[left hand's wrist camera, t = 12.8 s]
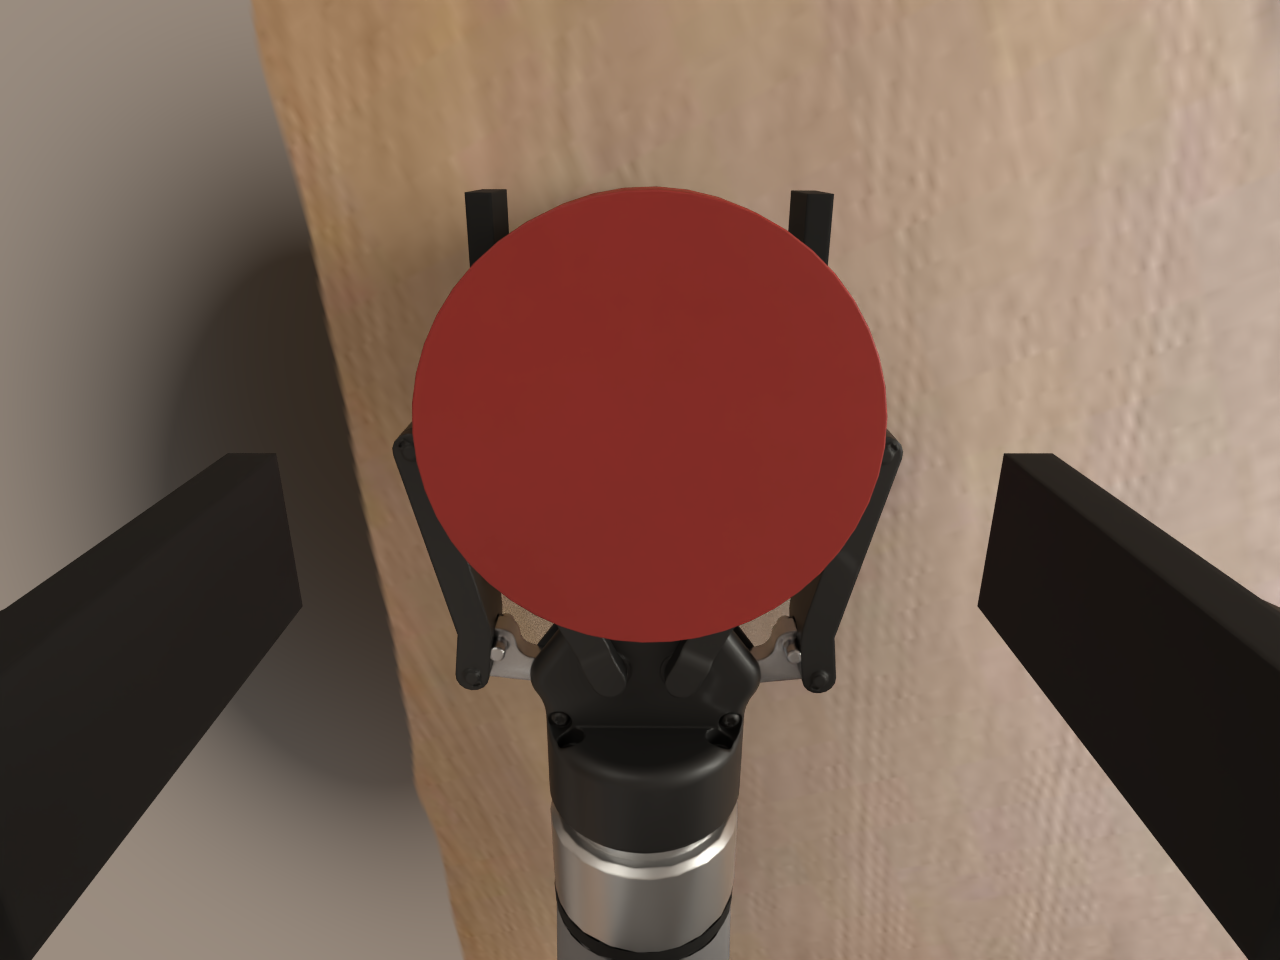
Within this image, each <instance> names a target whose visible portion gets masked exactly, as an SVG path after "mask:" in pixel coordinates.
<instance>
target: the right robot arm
mask: <svg viewBox="0 0 1280 960" xmlns="http://www.w3.org/2000/svg"><path fill="white" fill-rule="evenodd" d="M833 199H834V194H831V193H825V192H820V191H791V201H790V215H789V230H788V232H790V233H791V234H792V235H793V236H795V237H796V238H797V239H799V240H800V241H801V242H802V243H804V244H805V245H806V246H808V247H809V248H810V249H811V250H813V251H814V252H815V253H816V254H817V255H818V256H819V257H820V259H821V260H822V261H823V262H824V263H825V264H826V265H827V266H828V256H829V245H830V234H831V222H832V211H833ZM465 204H466V218H467V232H468V246H469V260H470V267H471V266H472V265H473V264H474V263H475V262H476V261H477V260H478V259H479V258H480V257H481V256H482V255H483V254H485V253H486V252H487V251H488V250H489V249H490V248H491V247H492V246H493V245H494V244H496V243H497V242H498V241H499V240H501V239H502V238H504V237H505V236H506V235H508V234H509V226H508V208H507V189H481V190H476V191H470V192H465ZM392 449H393V456H394V458H395V461H396V464H397V467H398V470H399V472H400V475H401V478H402V481H403V484H404V486H405V489H406V492H407V495H408V497H409V500H410V503H411V506H412V509H413V511H414V514H415V517H416V520H417V523H418V525H419V528H420V531H421V534H422V537H423V539H424V542H425V545H426V548H427V551H428V553H429V556H430V559H431V562H432V564H433V567H434V570H435V573H436V576H437V578H438V581H439V584H440V587H441V590H442V592H443V595H444V598H445V601H446V604H447V606H448V609H449V612H450V615H451V617H452V620H453V623H454V626H455V629H456V631H457V634H458V638H457V657H456V679H457V681H458V683H459V684H460V685H461V686H463V687H464V688H466V689H470V690H478V689H481V688H483V687H484V686H485V685H486V684H487V683H488V680H489V677H490V676H496V677H505V678H514V679H523V680H531V682H532V685H533V687H534V689H535V690H536V692H537V693H538V694H539V696H540V697H541V699H542V701H543V703H544V705H545V709H546V717H547V738H548V759H549V780H550V793H551V797H552V804H551V824H552V839H553V855H554V870H555V891H556V900H557V960H729V949H730V904H731V898H732V886H733V880H734V871H735V855H736V838H737V822H738V802H737V799H738V795H739V786H740V770H741V754H742V738H743V722H744V712H745V708H746V705H747V703H748V701H749V700H750V698H751V697H752V695H753V694H754V693H755V691H756V690H757V688H758V686H759V683H761V682H771V681H782V680H792V679H802V682H803V685H804V687H805V688H806V689H807V690H808V691H811V692H813V693H822V692H826V691H827V690H829V689H830V688H832V686H833V685H834V684H835V680H836V666H835V639H834V638H835V635H836V632H837V630H838V627H839V624H840V622H841V619H842V616H843V614H844V611H845V608H846V606H847V603H848V600H849V598H850V595H851V592H852V590H853V587H854V585H855V582H856V579H857V577H858V574H859V571H860V569H861V566H862V563H863V561H864V558H865V555H866V553H867V550H868V547H869V545H870V542H871V539H872V537H873V534H874V531H875V529H876V526H877V523H878V521H879V518H880V515H881V513H882V510H883V507H884V505H885V502H886V499H887V497H888V494H889V492H890V489H891V486H892V484H893V481H894V478H895V476H896V473H897V470H898V468H899V465H900V462H901V460H902V455H903V450H902V446H901V444H900V443H899V442H898V441H897V440H896V438H895V437H894V436H893V435H892V434H891V433H890V432H889V431H888V430H887V428H886V440H885V449H884V454H883V458H882V463H881V467H880V472H879V476H878V479H877V482H876V484H875V487H874V490H873V493H872V495H871V498H870V501H869V503H868V505H867V507H866V509H865V511H864V513H863V515H862V517H861V519H860V521H859V523H858V525H857V527H856V529H855V530H854V531H853V533H852V534H851V536H850V537H849V539H848V540H847V542H846V543H845V544H844V546H843V547H842V549H841V550H840V552H839V553H838V554H837V555H836V556H835V557H834V558H833V560H832V561H831V562H830V563H829V564H828V565H827V566H826V567H825V569H824V570H823V571H822V572H821V573H820V574H819V575H818V576H817V577H815V578H814V579H813V580H812V581H811V582H810V583H809V584H807V585H806V586H805V587H804V588H803V589H802V590H801V591H799V592H798V593H797V594H795V595H794V596H792V597H791V600H790V607H789V616H781V617H780V618H779V619H778V620H777V623H776V624H775V625H774V627H773V628H772V632H771V636H770V638H769V640H768V641H767V642H766V643H764V644H762V645H760V646H756V647H754V646H753V644H752V643H751V641H750V640H749V639H748V638H747V636H746V635H745V634H744V632H743V631H742V630H741V629H740V627H739V626H736V627H733V628H731V629H728V630H726V631H722V632H718V633H714V634H711V635H707V636H703V637H699V638H693V639H686V640H679V641H672V642H644V643H642V642H630V641H618V640H611V639H606V638H601V637H596V636H591V635H586V634H583V633H580V632H577V631H574V630H570V629H567V628H564V627H561V626H559V625H556V624H553V625H552V626H551V628H550V629H549V630H548V631H547V633H546V634H545V635H544V636H543V638H542V639H541V640H540V641H539V643H538V644H537V645H536V644H531V643H529V642H527V641H526V640H525V639H524V638H523V637H522V635H521V632H520V628H519V625H518V624H517V622H516V621H515V619H514V617H513V616H512V615H511V614H508V613H506V614H502V598H501V592H499V591H498V590H497V589H496V588H494V587H493V586H492V585H490V584H489V583H488V582H487V581H486V580H485V579H484V578H483V577H482V576H481V575H480V574H479V573H478V572H477V571H476V570H475V569H474V568H473V567H472V566H471V565H470V564H469V563H468V562H467V561H466V559H465V558H464V557H463V556H462V554H461V553H460V552H459V550H458V549H457V548H456V547H455V545H454V544H453V543H452V542H451V540H450V538H449V537H448V535H447V533H446V532H445V530H444V528H443V527H442V525H441V523H440V522H439V520H438V519H437V517H436V515H435V512H434V510H433V508H432V505H431V503H430V501H429V499H428V496H427V494H426V492H425V489H424V486H423V482H422V479H421V475H420V472H419V468H418V465H417V461H416V454H415V447H414V440H413V434H412V422H411V423H410V424H409V426H408V427H407V428H406V429H405V430H404V431H403V432H402V433H401V435H400V436H399V437H398V438H397V439H396V441H395V442H394V445H393V448H392Z"/></svg>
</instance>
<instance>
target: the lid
mask: <svg viewBox="0 0 1280 960" xmlns="http://www.w3.org/2000/svg"><path fill="white" fill-rule="evenodd" d="M886 427H887V404H886V388H885V382H884V377H883V373H882V368H881V363H880V358H879V355H878V352H877V349H876V346H875V343H874V341H873V338H872V335H871V332H870V329H869V327H868V325H867V323H866V321H865V319H864V318H863V316H862V314H861V312H860V310H859V308H858V306H857V304H856V302H855V300H854V299H853V298H852V296H851V295H850V293H849V292H848V291H847V289H846V288H845V286H844V285H843V284H842V282H841V281H840V280H839V278H838V277H837V275H836V274H835V273H834V272H833V271H832V270H831V269H830V268H829V267H828V266H827V265H826V264H825V263H824V262H823V261H822V260H821V259H820V257H819V256H818V255H817V254H816V253H815V252H814V251H813V250H811V249H810V248H809V247H808V246H806V245H805V244H804V243H802V242H801V241H800V240H799V239H797V238H796V237H795V236H793V235H792V234H791V233H790V232H788V231H787V230H786V229H784V228H782V227H780V226H779V225H777V224H775V223H773V222H772V221H770V220H768V219H766V218H764V217H763V216H761V215H759V214H757V213H755V212H753V211H751V210H749V209H747V208H744V207H742V206H739V205H737V204H734V203H732V202H729V201H727V200H724V199H722V198H719V197H716V196H712V195H708V194H704V193H699V192H695V191H691V190H686V189H676V188H666V187H632V188H621V189H615V190H610V191H604V192H599V193H594V194H590V195H587V196H584V197H581V198H578V199H575V200H572V201H569V202H566V203H563V204H561V205H559V206H557V207H555V208H553V209H551V210H549V211H547V212H545V213H543V214H541V215H539V216H537V217H535V218H533V219H531V220H529V221H527V222H526V223H524V224H523V225H521V226H520V227H518V228H517V229H515V230H514V231H512V232H511V233H509V234H508V235H506V236H505V237H504V238H502V239H501V240H499V241H498V242H497V243H496V244H494V245H493V246H492V247H491V248H490V249H489V250H488V251H487V252H486V253H485V254H483V255H482V256H481V257H480V258H479V259H478V260H477V261H476V262H475V263H474V264H473V265H472V266H471V267H470V269H469V270H468V271H467V272H466V273H465V275H464V276H463V277H462V278H461V279H460V281H459V282H458V283H457V284H456V285H455V287H454V288H453V289H452V291H451V293H450V294H449V296H448V297H447V299H446V301H445V302H444V304H443V306H442V307H441V309H440V311H439V312H438V314H437V315H436V318H435V320H434V322H433V325H432V327H431V329H430V332H429V334H428V336H427V339H426V341H425V343H424V346H423V350H422V354H421V357H420V361H419V364H418V368H417V372H416V377H415V385H414V393H413V401H412V434H413V440H414V447H415V454H416V461H417V465H418V468H419V472H420V475H421V479H422V482H423V486H424V489H425V492H426V494H427V496H428V499H429V501H430V503H431V505H432V508H433V510H434V512H435V515H436V517H437V519H438V520H439V522H440V523H441V525H442V527H443V528H444V530H445V532H446V533H447V535H448V537H449V538H450V540H451V542H452V543H453V544H454V545H455V547H456V548H457V549H458V550H459V552H460V553H461V554H462V556H463V557H464V558H465V559H466V561H467V562H468V563H469V564H470V565H471V566H472V567H473V568H474V569H475V570H476V571H477V572H478V573H479V574H480V575H481V576H482V577H483V578H484V579H485V580H486V581H487V582H488V583H489V584H490V585H492V586H493V587H494V588H496V589H497V590H498V591H499V592H501V593H502V594H503V595H505V596H506V597H507V598H508V599H510V600H511V601H513V602H514V603H516V604H518V605H519V606H521V607H523V608H524V609H526V610H528V611H529V612H531V613H533V614H534V615H536V616H539V617H541V618H543V619H545V620H548V621H550V622H552V623H554V624H556V625H559V626H561V627H564V628H567V629H570V630H574V631H577V632H580V633H583V634H586V635H591V636H596V637H601V638H606V639H611V640H618V641H630V642H642V643H644V642H672V641H679V640H686V639H693V638H699V637H703V636H707V635H711V634H714V633H718V632H722V631H726V630H728V629H731V628H733V627H736V626H739V625H741V624H744V623H746V622H749V621H751V620H753V619H755V618H757V617H759V616H761V615H763V614H765V613H767V612H769V611H771V610H772V609H774V608H776V607H778V606H779V605H781V604H782V603H783V602H785V601H786V600H788V599H789V598H791V597H792V596H794V595H795V594H797V593H798V592H799V591H801V590H802V589H803V588H804V587H805V586H806V585H807V584H809V583H810V582H811V581H812V580H813V579H814V578H815V577H817V576H818V575H819V574H820V573H821V572H822V571H823V570H824V569H825V567H826V566H827V565H828V564H829V563H830V562H831V561H832V560H833V558H834V557H835V556H836V555H837V554H838V553H839V552H840V550H841V549H842V547H843V546H844V544H845V543H846V542H847V540H848V539H849V537H850V536H851V534H852V533H853V531H854V530H855V529H856V527H857V525H858V523H859V521H860V519H861V517H862V515H863V513H864V511H865V509H866V507H867V505H868V503H869V501H870V498H871V495H872V493H873V490H874V487H875V484H876V482H877V479H878V476H879V472H880V467H881V463H882V458H883V454H884V449H885V440H886Z"/></svg>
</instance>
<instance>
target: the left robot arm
mask: <svg viewBox="0 0 1280 960" xmlns="http://www.w3.org/2000/svg"><path fill="white" fill-rule="evenodd" d="M301 607H302V600H301V595H300V589H299V583H298V577H297V572H296V566H295V560H294V554H293V548H292V543H291V537H290V531H289V525H288V520H287V514H286V508H285V502H284V497H283V491H282V485H281V479H280V474H279V468H278V462H277V456H276V454H275V453H271V454H270V453H260V454H258V453H256V454H254V453H253V454H252V453H245V454H244V453H242V454H241V453H240V454H239V453H232V454H230V453H228V454H226V455H225V456H223V457H222V458H220V459H219V460H218V461H216V462H215V463H213V464H212V465H210V466H209V467H208V468H206V469H205V470H203V471H202V472H200V473H199V474H197V475H196V476H195V477H193V478H192V479H190V480H189V481H187V482H186V483H185V484H183V485H182V486H180V487H179V488H177V489H176V490H175V491H173V492H172V493H170V494H169V495H167V496H166V497H164V498H163V499H162V500H160V501H159V502H157V503H156V504H155V505H153V506H152V507H150V508H149V509H147V510H146V511H145V512H143V513H142V514H140V515H139V516H137V517H136V518H134V519H133V520H132V521H130V522H129V523H127V524H126V525H124V526H123V527H122V528H120V529H119V530H117V531H116V532H114V533H113V534H111V535H110V536H109V537H107V538H106V539H104V540H103V541H101V542H100V543H99V544H97V545H96V546H94V547H93V548H91V549H90V550H89V551H87V552H86V553H84V554H83V555H81V556H80V557H79V558H77V559H76V560H74V561H73V562H71V563H70V564H69V565H67V566H66V567H64V568H63V569H61V570H60V571H58V572H57V573H56V574H54V575H53V576H51V577H50V578H48V579H47V580H46V581H44V582H43V583H41V584H40V585H38V586H37V587H36V588H34V589H33V590H31V591H30V592H28V593H27V594H25V595H24V596H23V597H21V598H20V599H18V600H17V601H15V602H14V603H13V604H11V605H10V606H8V607H7V608H5V609H4V610H1V611H0V960H32V958H33V957H34V956H35V954H36V953H37V952H38V951H39V949H40V948H41V947H42V945H43V944H44V943H45V942H46V940H47V939H48V938H49V936H50V935H51V934H52V932H53V931H54V930H55V928H56V927H57V926H58V924H59V923H60V922H61V921H62V919H63V918H64V917H65V915H66V914H67V913H68V911H69V910H70V909H71V908H72V906H73V905H74V904H75V902H76V901H77V900H78V898H79V897H80V896H81V895H82V893H83V892H84V891H85V889H86V888H87V887H88V885H89V884H90V883H91V881H92V880H93V879H94V878H95V876H96V875H97V874H98V872H99V871H100V870H101V868H102V867H103V866H104V865H105V863H106V862H107V861H108V859H109V858H110V857H111V855H112V854H113V853H114V851H115V850H116V849H117V848H118V846H119V845H120V844H121V842H122V841H123V840H124V838H125V837H126V836H127V835H128V833H129V832H130V831H131V829H132V828H133V827H134V825H135V824H136V823H137V821H138V820H139V819H140V817H141V816H142V815H143V814H144V812H145V811H146V810H147V808H148V807H149V806H150V804H151V803H152V802H153V801H154V799H155V798H156V797H157V795H158V794H159V793H160V791H161V790H162V789H163V788H164V786H165V785H166V784H167V782H168V781H169V780H170V778H171V777H172V776H173V774H174V773H175V772H176V770H177V769H178V768H179V767H180V765H181V764H182V763H183V761H184V760H185V759H186V758H187V756H188V755H189V754H190V752H191V751H192V750H193V748H194V747H195V746H196V744H197V743H198V742H199V740H200V739H201V738H202V737H203V735H204V734H205V733H206V731H207V730H208V729H209V728H210V726H211V725H212V724H213V722H214V721H215V720H216V718H217V717H218V716H219V714H220V713H221V712H222V711H223V709H224V708H225V707H226V705H227V704H228V703H229V701H230V700H231V699H232V697H233V696H234V695H235V694H236V692H237V691H238V690H239V688H240V687H241V686H242V684H243V683H244V682H245V681H246V679H247V678H248V677H249V675H250V674H251V673H252V671H253V670H254V669H255V667H256V666H257V665H258V663H259V662H260V661H261V660H262V658H263V657H264V656H265V654H266V653H267V652H268V651H269V649H270V648H271V647H272V645H273V644H274V643H275V641H276V640H277V639H278V637H279V636H280V635H281V634H282V632H283V631H284V630H285V628H286V627H287V626H288V624H289V623H290V622H291V620H292V619H293V618H294V617H295V615H296V614H297V613H298V611H299V610H300V609H301ZM978 607H979V609H980V610H981V611H982V613H983V614H984V615H985V617H986V618H987V619H988V621H989V622H990V623H991V624H992V626H993V627H994V628H995V630H996V631H997V632H998V634H999V635H1000V636H1001V637H1002V639H1003V640H1004V641H1005V643H1006V644H1007V645H1008V647H1009V648H1010V649H1011V651H1012V652H1013V653H1014V654H1015V656H1016V657H1017V658H1018V660H1019V661H1020V662H1021V664H1022V665H1023V666H1024V667H1025V669H1026V670H1027V671H1028V673H1029V674H1030V675H1031V677H1032V678H1033V679H1034V681H1035V682H1036V683H1037V684H1038V686H1039V687H1040V688H1041V690H1042V691H1043V692H1044V694H1045V695H1046V696H1047V698H1048V699H1049V700H1050V701H1051V703H1052V704H1053V705H1054V707H1055V708H1056V709H1057V711H1058V712H1059V713H1060V714H1061V716H1062V717H1063V718H1064V720H1065V721H1066V722H1067V724H1068V725H1069V726H1070V728H1071V729H1072V730H1073V731H1074V733H1075V734H1076V735H1077V737H1078V738H1079V739H1080V741H1081V742H1082V743H1083V744H1084V746H1085V747H1086V748H1087V750H1088V751H1089V752H1090V754H1091V755H1092V756H1093V758H1094V759H1095V760H1096V761H1097V763H1098V764H1099V765H1100V767H1101V768H1102V769H1103V771H1104V772H1105V773H1106V774H1107V776H1108V777H1109V778H1110V780H1111V781H1112V782H1113V784H1114V785H1115V786H1116V788H1117V789H1118V790H1119V791H1120V793H1121V794H1122V795H1123V797H1124V798H1125V799H1126V801H1127V802H1128V803H1129V805H1130V806H1131V807H1132V808H1133V810H1134V811H1135V812H1136V814H1137V815H1138V816H1139V818H1140V819H1141V820H1142V821H1143V823H1144V824H1145V825H1146V827H1147V828H1148V829H1149V831H1150V832H1151V833H1152V835H1153V836H1154V837H1155V838H1156V840H1157V841H1158V842H1159V844H1160V845H1161V846H1162V848H1163V849H1164V850H1165V851H1166V853H1167V854H1168V855H1169V857H1170V858H1171V859H1172V861H1173V862H1174V863H1175V865H1176V866H1177V867H1178V868H1179V870H1180V871H1181V872H1182V874H1183V875H1184V876H1185V878H1186V879H1187V880H1188V881H1189V883H1190V884H1191V885H1192V887H1193V888H1194V889H1195V891H1196V892H1197V893H1198V895H1199V896H1200V897H1201V898H1202V900H1203V901H1204V902H1205V904H1206V905H1207V906H1208V908H1209V909H1210V910H1211V912H1212V913H1213V914H1214V915H1215V917H1216V918H1217V919H1218V921H1219V922H1220V923H1221V925H1222V926H1223V927H1224V928H1225V930H1226V931H1227V932H1228V934H1229V935H1230V936H1231V938H1232V939H1233V940H1234V942H1235V943H1236V944H1237V945H1238V947H1239V948H1240V949H1241V951H1242V952H1243V953H1244V955H1245V956H1246V957H1247V958H1248V960H1280V607H1277V606H1275V605H1273V604H1271V603H1269V602H1266V601H1264V600H1262V599H1260V598H1259V597H1257V596H1256V595H1255V594H1253V593H1252V592H1250V591H1249V590H1247V589H1246V588H1245V587H1243V586H1242V585H1240V584H1239V583H1237V582H1236V581H1234V580H1233V579H1232V578H1230V577H1229V576H1227V575H1226V574H1224V573H1223V572H1222V571H1220V570H1219V569H1217V568H1216V567H1214V566H1213V565H1212V564H1210V563H1209V562H1207V561H1206V560H1204V559H1203V558H1202V557H1200V556H1199V555H1197V554H1196V553H1194V552H1193V551H1191V550H1190V549H1189V548H1187V547H1186V546H1184V545H1183V544H1181V543H1180V542H1179V541H1177V540H1176V539H1174V538H1173V537H1171V536H1170V535H1169V534H1167V533H1166V532H1164V531H1163V530H1161V529H1160V528H1159V527H1157V526H1156V525H1154V524H1153V523H1151V522H1150V521H1148V520H1147V519H1146V518H1144V517H1143V516H1141V515H1140V514H1138V513H1137V512H1136V511H1134V510H1133V509H1131V508H1130V507H1128V506H1127V505H1126V504H1124V503H1123V502H1121V501H1120V500H1118V499H1117V498H1116V497H1114V496H1113V495H1111V494H1110V493H1108V492H1107V491H1105V490H1104V489H1103V488H1101V487H1100V486H1098V485H1097V484H1095V483H1094V482H1093V481H1091V480H1090V479H1088V478H1087V477H1085V476H1084V475H1083V474H1081V473H1080V472H1078V471H1077V470H1075V469H1074V468H1073V467H1071V466H1070V465H1068V464H1067V463H1065V462H1064V461H1062V460H1061V459H1060V458H1058V457H1057V456H1055V455H1054V454H1052V453H1004V456H1003V462H1002V468H1001V473H1000V479H999V485H998V491H997V497H996V502H995V508H994V514H993V520H992V525H991V531H990V537H989V543H988V548H987V554H986V560H985V566H984V572H983V577H982V583H981V589H980V595H979V600H978Z"/></svg>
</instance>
